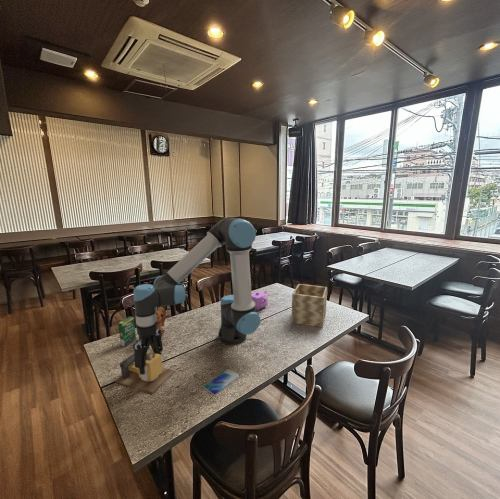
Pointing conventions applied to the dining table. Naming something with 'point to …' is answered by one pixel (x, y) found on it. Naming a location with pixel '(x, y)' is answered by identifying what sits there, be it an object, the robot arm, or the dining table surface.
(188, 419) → the dining table surface
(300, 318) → the planter
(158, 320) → the mug
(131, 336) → the coffee box
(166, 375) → the base
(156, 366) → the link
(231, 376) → the smartphone
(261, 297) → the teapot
